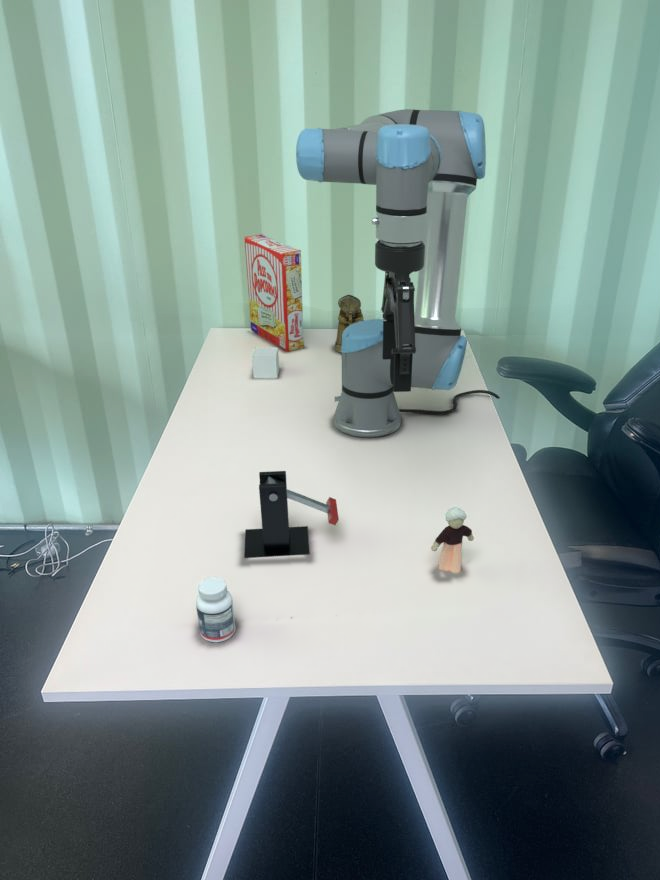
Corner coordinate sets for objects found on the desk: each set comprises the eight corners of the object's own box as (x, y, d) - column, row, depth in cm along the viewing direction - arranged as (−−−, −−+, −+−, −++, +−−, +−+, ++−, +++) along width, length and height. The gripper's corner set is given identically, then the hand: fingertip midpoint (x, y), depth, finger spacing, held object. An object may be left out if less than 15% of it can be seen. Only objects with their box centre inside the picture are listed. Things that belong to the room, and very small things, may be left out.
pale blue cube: (279, 369, 199) (278, 347, 196) (277, 378, 194) (275, 356, 191) (256, 369, 199) (254, 347, 196) (253, 378, 194) (252, 355, 191)
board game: (250, 331, 223) (243, 236, 208) (268, 327, 226) (263, 233, 212) (286, 352, 209) (281, 252, 195) (305, 348, 213) (302, 249, 198)
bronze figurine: (332, 360, 205) (331, 294, 196) (335, 342, 217) (334, 279, 207) (365, 361, 205) (365, 295, 196) (366, 343, 217) (367, 280, 207)
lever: (331, 507, 133) (337, 496, 132) (333, 528, 128) (340, 517, 127) (262, 480, 128) (268, 469, 127) (262, 501, 123) (268, 489, 122)
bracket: (307, 531, 136) (305, 464, 129) (309, 559, 129) (307, 490, 122) (245, 534, 135) (239, 467, 127) (244, 563, 128) (237, 493, 120)
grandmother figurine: (441, 585, 124) (446, 521, 117) (426, 573, 127) (430, 510, 120) (476, 569, 128) (483, 506, 121) (461, 558, 130) (467, 495, 124)
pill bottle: (202, 620, 116) (196, 574, 111) (237, 618, 116) (232, 572, 111) (198, 644, 111) (191, 597, 106) (234, 642, 112) (228, 595, 107)
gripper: (366, 222, 123) (365, 347, 135) (386, 263, 102) (383, 407, 114) (411, 222, 124) (406, 346, 136) (440, 263, 103) (432, 405, 115)
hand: (396, 374), depth 125 cm, fingers open, 13 cm apart
